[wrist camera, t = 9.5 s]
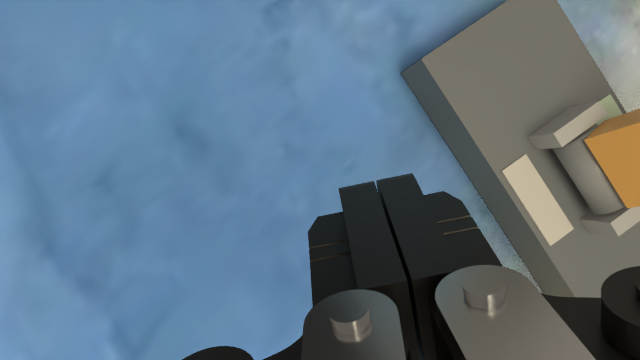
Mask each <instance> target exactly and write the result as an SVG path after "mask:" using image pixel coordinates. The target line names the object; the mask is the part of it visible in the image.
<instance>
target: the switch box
mask: <svg viewBox="0 0 640 360" xmlns="http://www.w3.org/2000/svg"><path fill="white" fill-rule="evenodd" d="M401 75H402V76H403V78H404V79H405V81H406V83H407V84H408V86H409V87H410V89H411V90H412V92H413V93H414V95H415V96H416V98H417V99H418V101H419V103H420V104H421V106H422V107H423V109H424V110H425V112H426V113H427V115H428V116H429V118H430V119H431V121H432V122H433V124H434V126H435V127H436V129H437V130H438V132H439V133H440V135H441V136H442V138H443V139H444V141H445V142H446V144H447V145H448V147H449V149H450V150H451V152H452V153H453V155H454V156H455V158H456V159H457V161H458V162H459V164H460V165H461V167H462V168H463V170H464V172H465V173H466V175H467V176H468V178H469V179H470V181H471V182H472V184H473V185H474V187H475V188H476V190H477V192H478V193H479V195H480V196H481V198H482V199H483V201H484V202H485V204H486V205H487V207H488V208H489V210H490V211H491V213H492V215H493V216H494V218H495V219H496V221H497V222H498V224H499V225H500V227H501V228H502V230H503V231H504V233H505V234H506V236H507V238H508V239H509V241H510V242H511V244H512V245H513V247H514V248H515V250H516V251H517V253H518V254H519V256H520V257H521V259H522V261H523V262H524V264H525V265H526V267H527V268H528V270H529V271H530V273H531V274H532V276H533V277H534V279H535V281H536V282H537V284H538V285H539V287H540V288H541V290H542V291H543V293H544V294H546V295H551V296H559V297H591V298H601V287H602V284H603V282H604V281H605V280H606V279H607V278H608V277H609V276H610V275H611V274H613V273H615V272H617V271H620V270H622V269H625V268H630V267H635V266H640V206H639V207H633V208H627V207H626V206H625V207H623V208H621V209H619V210H617V211H614V212H612V213H608V214H604V215H596V214H594V213H593V212H592V210H591V209H590V207H589V206H588V204H587V202H586V201H585V199H584V198H583V196H582V195H581V193H580V191H579V190H578V188H577V187H576V185H575V184H574V182H573V180H572V179H571V177H570V176H569V174H568V173H567V171H566V169H565V168H564V166H563V165H562V163H561V162H560V160H559V158H558V157H557V155H556V154H555V152H554V151H553V149H552V148H559V147H563V146H564V145H566V144H567V143H569V142H570V141H571V140H573V139H574V138H576V137H577V136H578V135H580V134H581V133H583V132H584V131H585V130H587V129H588V128H590V127H591V126H592V125H594V124H595V123H597V124H598V126H599V125H600V124H601V123H602V122H603V121H605V120H608V119H611V118H614V117H617V116H619V115H622V114H625V113H626V111H625V110H624V108H623V107H622V105H621V103H620V102H619V100H618V99H617V97H616V95H615V94H614V92H613V90H612V89H611V87H610V86H609V84H608V82H607V81H606V79H605V78H604V76H603V74H602V73H601V71H600V70H599V68H598V66H597V65H596V63H595V61H594V60H593V58H592V57H591V55H590V53H589V52H588V50H587V49H586V47H585V45H584V44H583V42H582V41H581V39H580V37H579V36H578V34H577V32H576V31H575V29H574V28H573V26H572V24H571V23H570V21H569V20H568V18H567V16H566V15H565V13H564V12H563V10H562V8H561V7H560V5H559V4H558V2H557V0H508V1H506V2H505V3H503V4H502V5H500V6H499V7H497V8H496V9H494V10H493V11H491V12H490V13H488V14H487V15H485V16H484V17H482V18H481V19H479V20H478V21H477V22H475V23H474V24H472V25H471V26H469V27H468V28H466V29H465V30H463V31H462V32H460V33H459V34H457V35H456V36H454V37H453V38H451V39H450V40H448V41H447V42H445V43H444V44H442V45H441V46H439V47H438V48H436V49H435V50H434V51H432V52H431V53H429V54H428V55H426V56H425V57H423V58H422V59H420V60H419V61H417V62H416V63H414V64H413V65H412V66H410V67H409V68H407V69H406V70H404V71H403V72H401Z"/></svg>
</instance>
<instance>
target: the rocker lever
mask: <svg viewBox="0 0 640 360" xmlns="http://www.w3.org/2000/svg"><path fill="white" fill-rule="evenodd" d="M552 149H553V151H554V152H555V154H556V155H557V157H558V158H559V160H560V162H561V163H562V165H563V166H564V168H565V169H566V171H567V173H568V174H569V176H570V177H571V179H572V180H573V182H574V184H575V185H576V187H577V188H578V190H579V191H580V193H581V195H582V196H583V198H584V199H585V201H586V202H587V204H588V206H589V207H590V209H591V210H592V212H593V213H594V214H596V215H604V214H608V213H612V212H614V211H617V210H619V209H621V208H623V207H625V206H626V207H627V208H633V207H639V206H640V109H637V110H634V111H631V112H628V113H625V114H622V115H619V116H617V117H614V118H611V119H608V120H605V121H603V122H602V123H601V124H600V125H599V126H598V124H597V123H595V124H594V125H592V126H591V127H590V128H588V129H587V130H585V131H584V132H583V133H581V134H580V135H578V136H577V137H576V138H574V139H573V140H571V141H570V142H569V143H567V144H566V145H564V146H563V147H559V148H552Z"/></svg>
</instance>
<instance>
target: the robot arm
mask: <svg viewBox="0 0 640 360" xmlns="http://www.w3.org/2000/svg"><path fill="white" fill-rule="evenodd" d="M377 190H378V192H377ZM339 193H340V198H341V203H342V208H343V212H339V213H334V214H329V215H324V216H319V217H317V219H316V220H315V222H314V223H313V225H312V226H311V228H310V230H309V231H308V238H309V249H310V250H309V254H310V270H311V285H312V301H313V308H312V309H311V310H310V312H309V313H308V314H307V316H306V318H305V321H304V326H303V335H302V336H301V337H300V338H299V339H298V340H297V341H296V342H295V343H293V344H292V345H291V346H289V347H288V348H286V349H284V350H282V351H281V352H279V353H277V354H274V355H272V356H270V357H268V358H265V359H263V360H640V266H635V267H630V268H625V269H622V270H620V271H617V272H615V273H613V274H611V275H610V276H609V277H608V278H607V279H606V280H605V281H604V282H603V284H602V287H601V298H591V297H559V296H551V295H546V294H542V293H540V292H539V291H538V290H537V288H536V287H535V286H534V285H533V284H532V282H531V281H530V280H529V279H528V278H527V277H525V276H524V275H522V274H521V273H519V272H517V271H515V270H512V269H509V268H506V267H503V266H502V264H501V263H500V261H499V259H498V258H497V256H496V255H495V253H494V252H493V250H492V248H491V247H490V245H489V244H488V242H487V240H486V239H485V237H484V236H483V234H482V233H481V231H480V229H478V227H477V225H476V223H475V221H474V220H473V218H472V217H471V216H470V213H469V212H468V210H467V209H466V207H465V206H464V204H463V202H462V201H461V200H459V199H457V198H455V197H453V196H452V195H450V194H448V193H446V192H444V191H442V192H438V193H433V194H428V195H423V193H422V191H421V189H420V187H419V185H418V183H417V181H416V179H415V177H414V175H413V174H412V173H411V174H406V175H401V176H396V177H391V178H386V179H381V180H377V189H376V186H375V183H374V181H372V182H367V183H362V184H357V185H352V186H347V187H342V188H339ZM183 360H254V359H253V358H252V357H251V355H250V354H248V353H247V352H246V351H244V350H242V349H240V348H236V347H231V346H218V347H211V348H207V349H204V350H201V351H198V352H196V353H193V354H192V355H190V356H188V357H186V358H184V359H183Z"/></svg>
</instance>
